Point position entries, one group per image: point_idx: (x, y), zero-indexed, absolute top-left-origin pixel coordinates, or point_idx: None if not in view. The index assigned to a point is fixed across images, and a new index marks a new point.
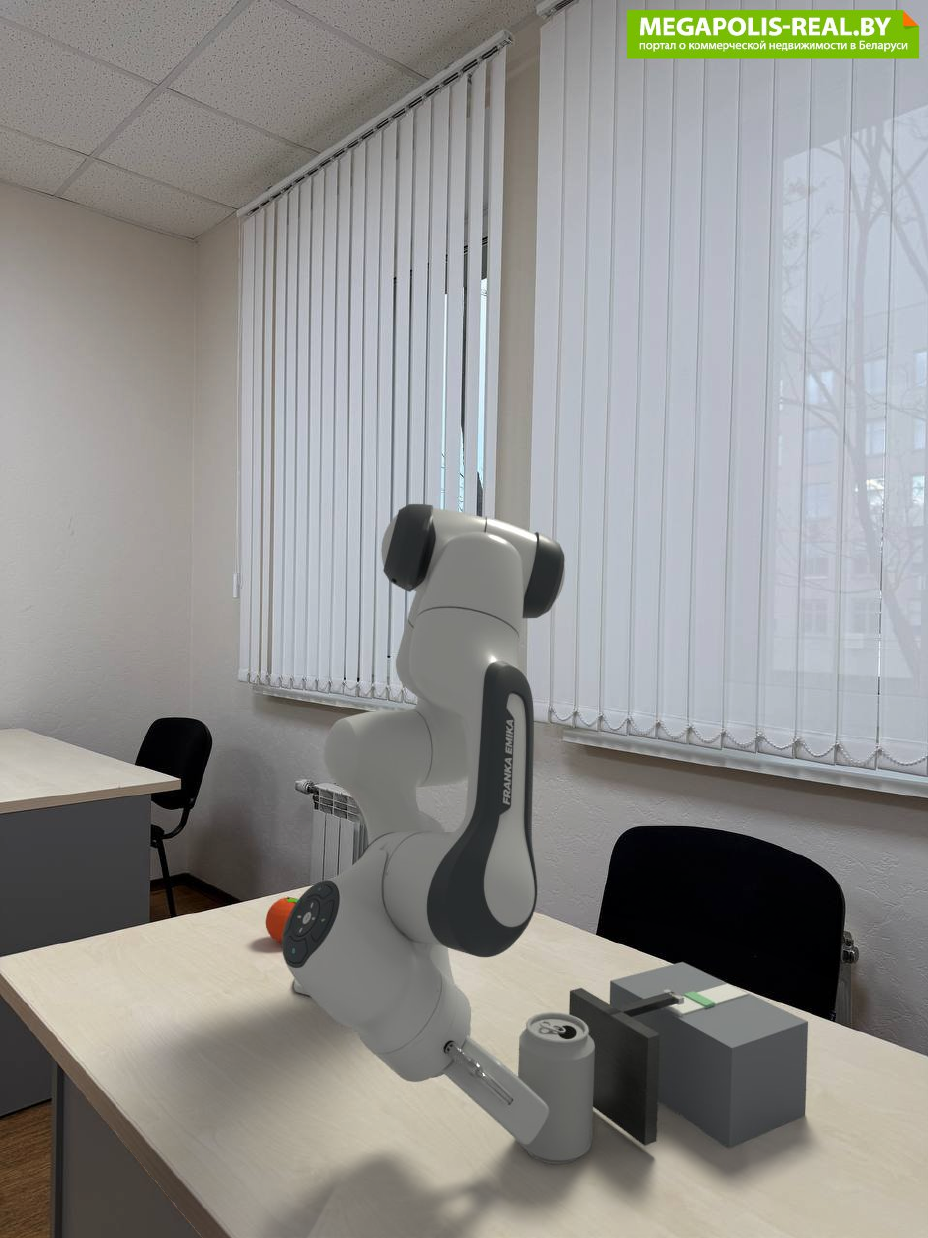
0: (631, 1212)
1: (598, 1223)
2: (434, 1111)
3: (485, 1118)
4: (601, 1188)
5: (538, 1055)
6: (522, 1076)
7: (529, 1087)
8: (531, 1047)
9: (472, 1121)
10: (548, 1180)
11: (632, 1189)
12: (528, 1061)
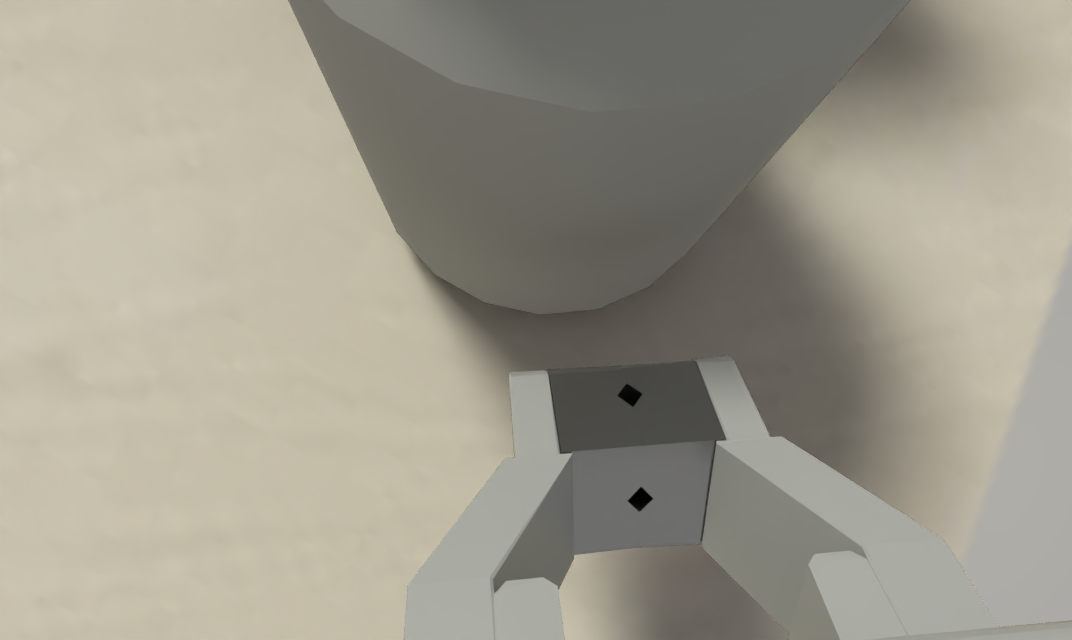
0: (1019, 123)
1: (1031, 271)
2: (37, 540)
3: (221, 328)
4: (862, 141)
5: (804, 55)
6: (563, 213)
7: (645, 217)
8: (689, 48)
9: (212, 399)
10: (740, 305)
11: (909, 39)
12: (665, 146)
